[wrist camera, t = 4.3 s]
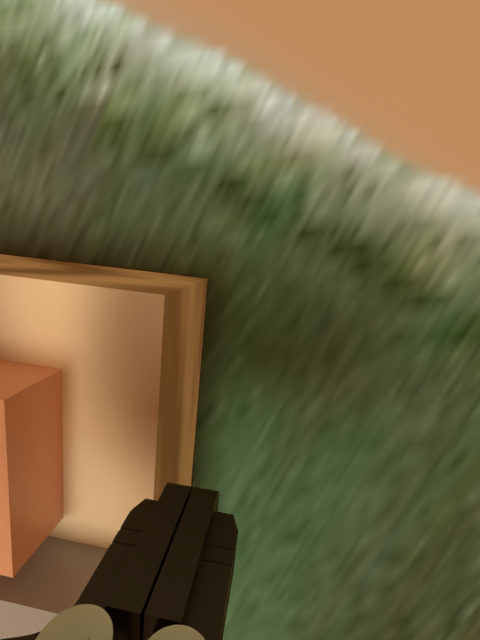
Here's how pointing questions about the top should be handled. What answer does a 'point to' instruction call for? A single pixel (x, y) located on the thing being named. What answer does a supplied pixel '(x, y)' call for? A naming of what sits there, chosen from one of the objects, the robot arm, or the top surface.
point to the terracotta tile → (29, 460)
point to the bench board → (110, 379)
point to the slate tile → (46, 585)
